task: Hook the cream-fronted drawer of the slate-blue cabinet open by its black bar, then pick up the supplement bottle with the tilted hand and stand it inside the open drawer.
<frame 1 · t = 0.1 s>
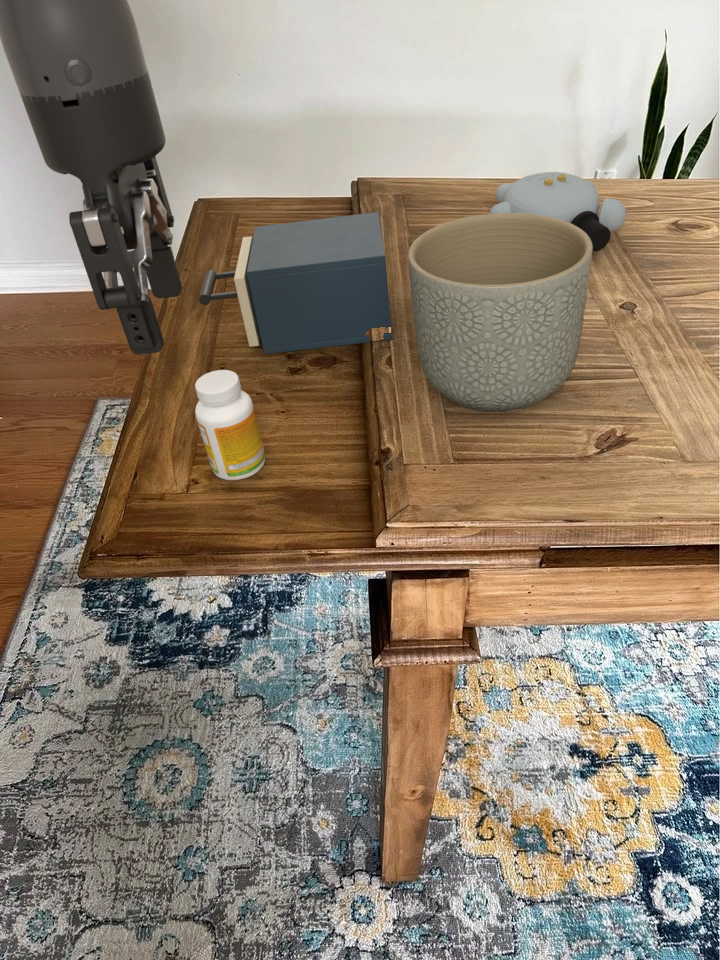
hand: (159, 321, 53), 20 cm above the table, tool pointing down, fingers open, 8 cm apart
figurine: (554, 240, 105), on the table
drawer: (283, 286, 90), point 5 cm above the table, slide at 0.5 cm
cabinet: (327, 320, 93), on the table
supplement bottle: (239, 466, 72), on the table
planter: (496, 386, 78), on the table
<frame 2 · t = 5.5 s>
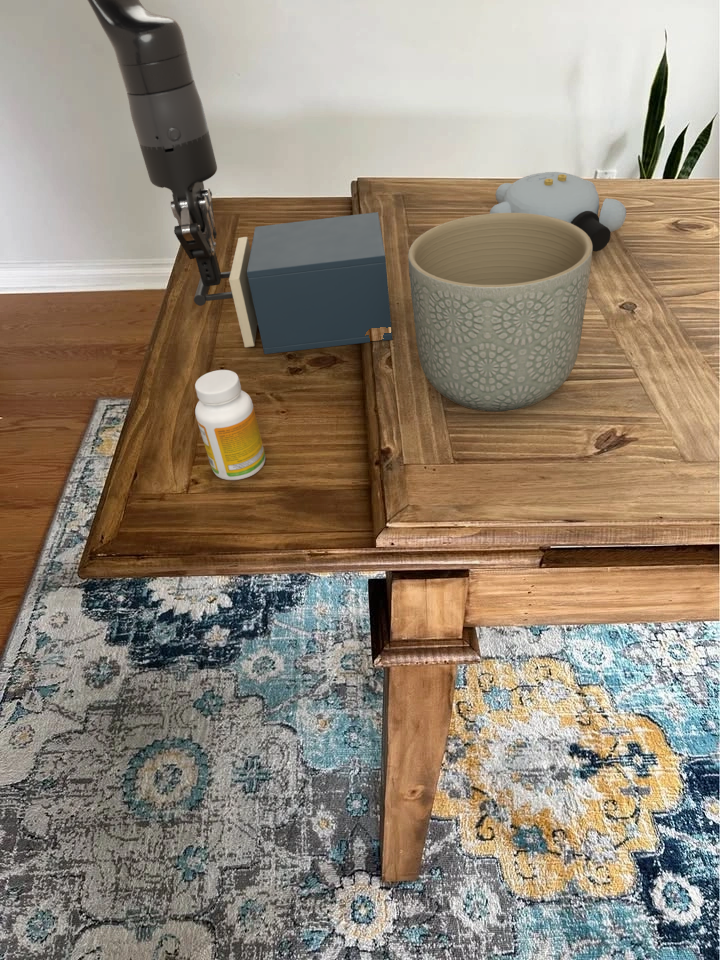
hand: (212, 283, 89), 7 cm above the table, tool pointing down, fingers closed
drawer: (278, 287, 90), point 5 cm above the table, slide at 1.1 cm, touching gripper
everything else where it was.
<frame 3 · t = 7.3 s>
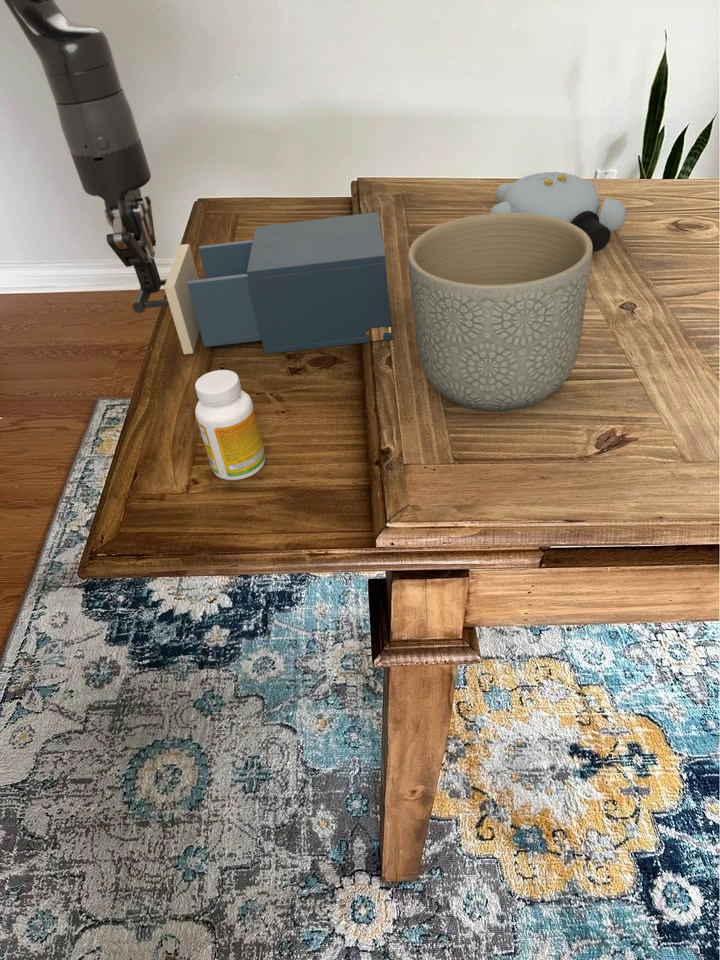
hand: (152, 290, 90), 7 cm above the table, tool pointing down, fingers closed
drawer: (218, 294, 90), point 5 cm above the table, slide at 8.6 cm, touching gripper
everything else where it was.
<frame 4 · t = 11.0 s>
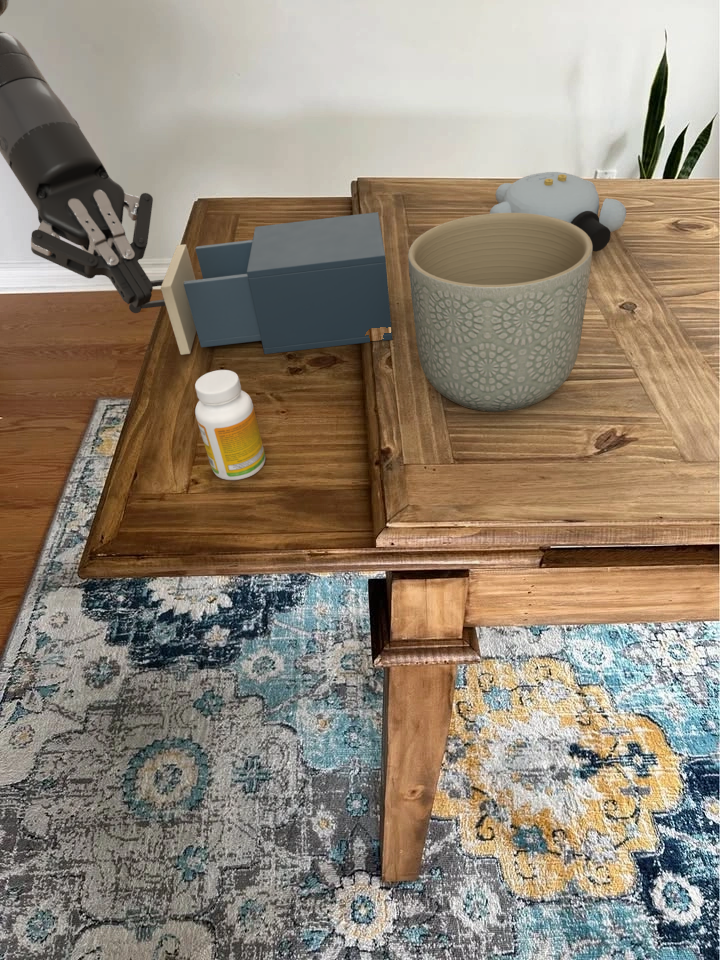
hand: (143, 301, 70), 14 cm above the table, tool tilted 45°, fingers closed
drawer: (215, 294, 90), point 5 cm above the table, slide at 9.0 cm
everything else where it was.
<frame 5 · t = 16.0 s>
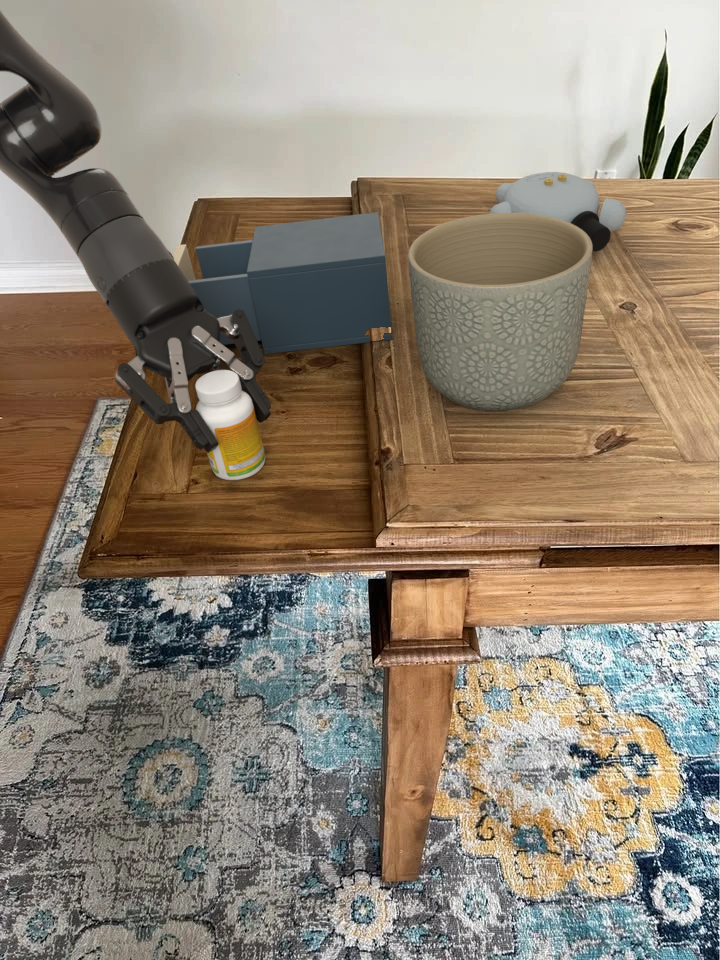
hand: (239, 433, 68), 5 cm above the table, tool tilted 45°, fingers closed on supplement bottle, 5 cm apart
supplement bottle: (239, 466, 72), on the table, touching gripper
everything else where it was.
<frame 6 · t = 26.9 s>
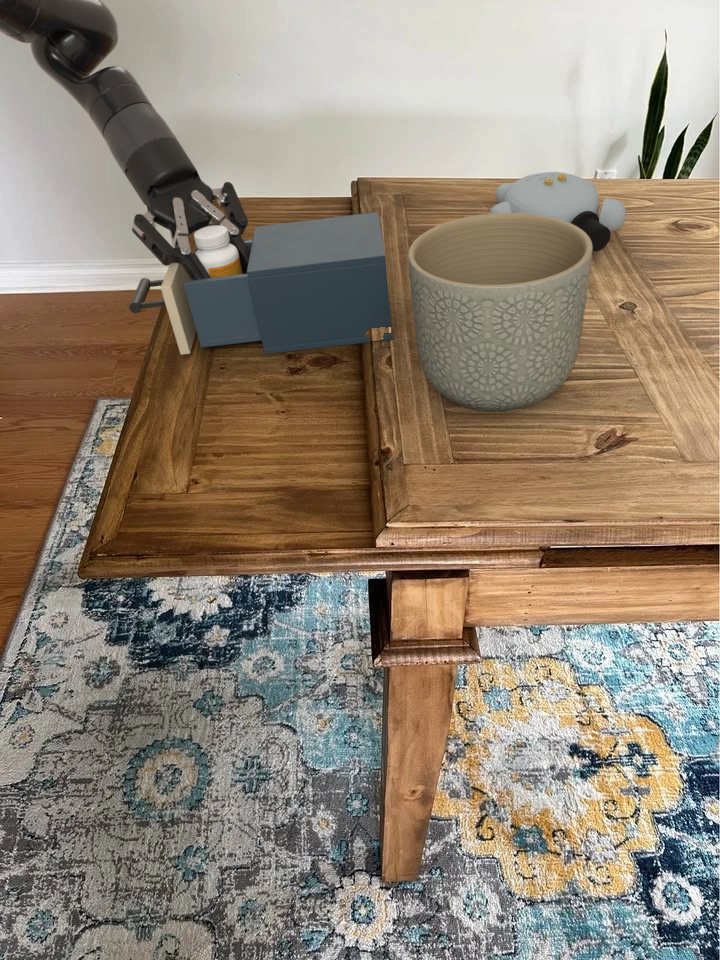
hand: (227, 275, 87), 8 cm above the table, tool tilted 45°, fingers closed on supplement bottle, 5 cm apart
supplement bottle: (228, 308, 92), point 3 cm above the table, touching gripper
everything else where it was.
when the fingers open (8 cm above the table, at t = 30.8 s): supplement bottle drops 2 cm, resting on drawer.
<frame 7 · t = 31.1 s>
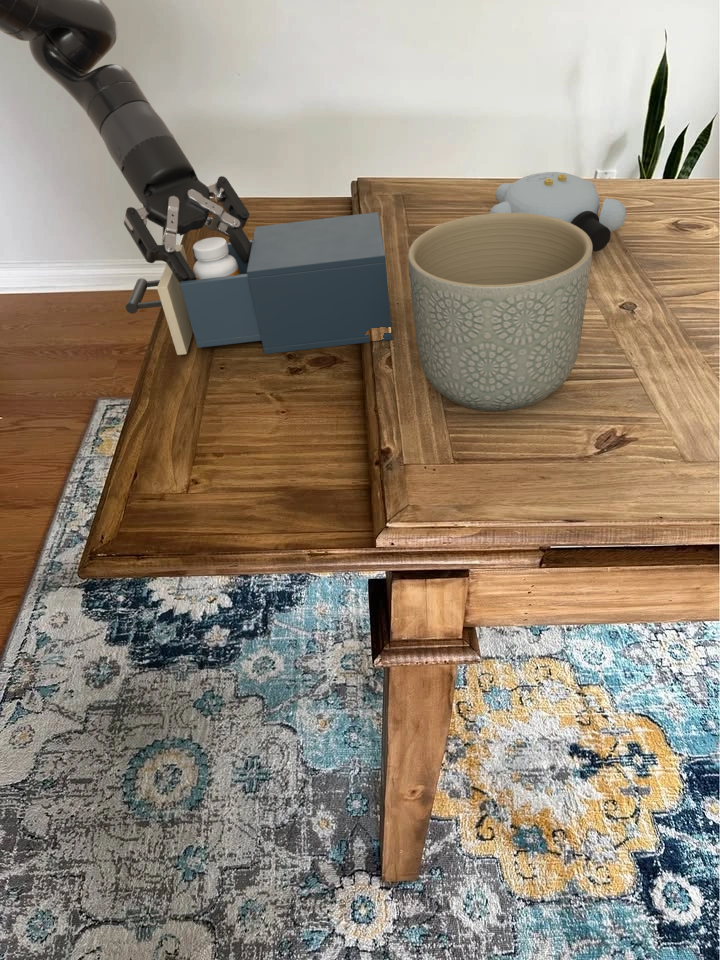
hand: (221, 271, 87), 9 cm above the table, tool tilted 45°, fingers open, 7 cm apart
drawer: (212, 294, 90), point 5 cm above the table, slide at 9.4 cm, touching gripper, supplement bottle
supplement bottle: (228, 319, 93), point 2 cm above the table, touching drawer
everything else where it was.
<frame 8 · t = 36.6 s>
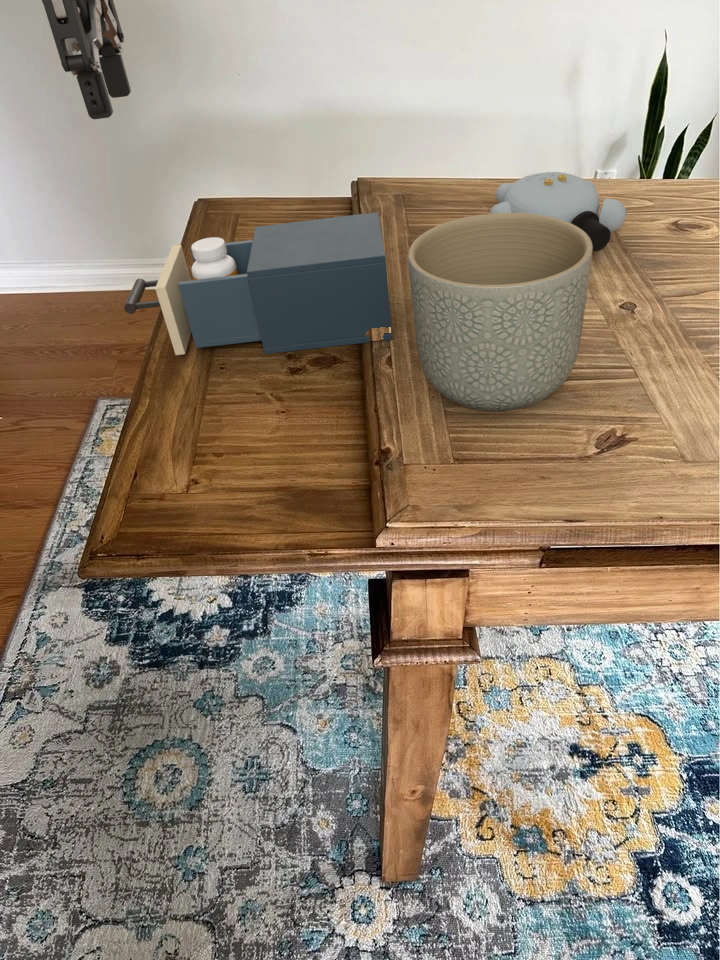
hand: (112, 106, 73), 28 cm above the table, tool pointing down, fingers open, 8 cm apart
drawer: (210, 295, 90), point 5 cm above the table, slide at 9.6 cm, touching supplement bottle
everything else where it was.
at the end: drawer slide at 9.6 cm; supplement bottle inside the target area in the drawer (0.7 cm from its centre), point 1.8 cm above the cabinet's base; supplement bottle tilted 0° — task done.
